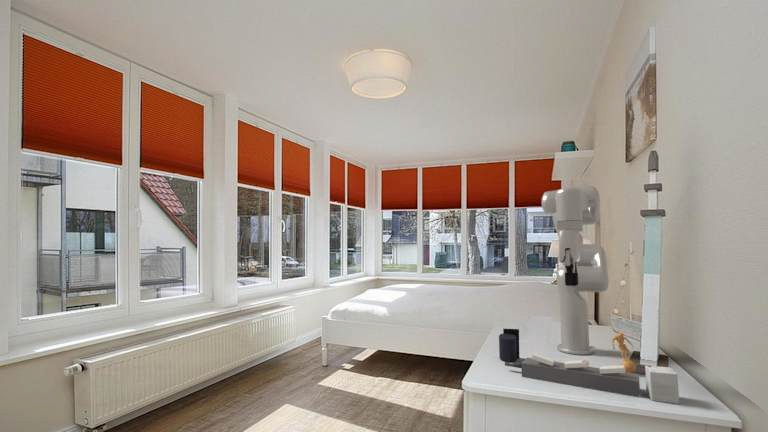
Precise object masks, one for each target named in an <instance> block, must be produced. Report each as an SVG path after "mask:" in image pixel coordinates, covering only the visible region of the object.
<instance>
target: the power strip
mask: <svg viewBox="0 0 768 432" xmlns="http://www.w3.org/2000/svg"><path fill="white" fill-rule="evenodd" d="M564 363H565V362H561V361H560V362H559V361H555V364H554V365H553V366H551V365H548V364H545V363H542V362H539V361H537V360H534V359H532V357H526V358H525V359H524V360H522V362H521V363H515V362H506V361H504V366H505V367H506V366H507V367H512V368H518V369H521V377H523V378H527V379H529V378H530V379H534V380H538V381H539V380H540V381H546V382H550V383H557V384H563V385H569V386H574V387H580V388H585V389H591V390H596V391H602V392H607V393H608V392H609V393H614V394H618V395H625V396H630V397H635V398H636V397H637V398H640V392H641V390H640V389H641V387H640V385H641V384H640V373H635V372H634V373H628V372H625V373H605V374H600V370H599V369H600V367H593V366H588V367H580V368H565V366H564Z"/></svg>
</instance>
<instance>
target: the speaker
mask: <svg viewBox="0 0 768 432" xmlns="http://www.w3.org/2000/svg"><path fill="white" fill-rule="evenodd" d="M498 349H499V350H498V351H499V352H498V353H499V359H500V360H501V361H503V362H511V363H515V362H516V361H517V359H520V328H503V332H502V333H500V334H499V335H498Z"/></svg>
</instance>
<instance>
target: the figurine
mask: <svg viewBox="0 0 768 432" xmlns="http://www.w3.org/2000/svg"><path fill="white" fill-rule="evenodd" d="M625 340H626V342H628V343H629V345H631V347H632V348H633V349H634V348H635V347H634V345H633V344H632V343H631V341H630V340H629V339H628V338H627V337H626V336H625V335H624V333H623V332H620V333H615V334H614V337H613V338H612V339H611V344H612V350H613V351H615V350H616V347H615V342H614V341H616V342H617V343H618V345H617V347H618V349H619V350H620V351H621V353H620V354H621V358H622V359H623V360H622V361H621V363H620V365H624V366H625V369H626V371H625V372H628V373H635V372H636V370H637V366H636V364H635V362H634V361H632V360H631V359H630V358H629V357H628V354H629V353H630V350H629V348H628V347H627V345H626V344H624V341H625Z"/></svg>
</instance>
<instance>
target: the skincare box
mask: <svg viewBox="0 0 768 432" xmlns="http://www.w3.org/2000/svg"><path fill="white" fill-rule="evenodd" d="M644 368H645V371H644V372H645V384H646V387H645V389H646V395H647V396H648V397H649V399H650V400H651V401H654V402H661V403H669V404H670V403H671V404H680V397H679V396H680V395H679V392H680V391H679V381H678V380H679V379H678V378H679V377H678V374H677V373H676V372H675V371H674V370H673V368H671V367H667V366H654V365H644Z"/></svg>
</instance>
